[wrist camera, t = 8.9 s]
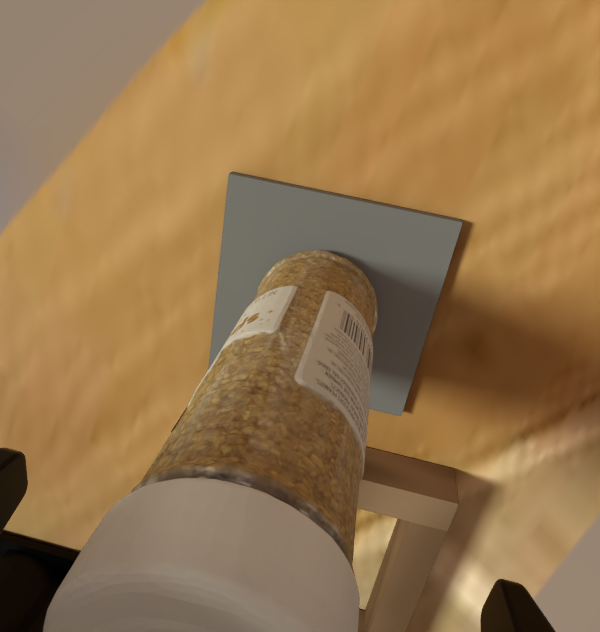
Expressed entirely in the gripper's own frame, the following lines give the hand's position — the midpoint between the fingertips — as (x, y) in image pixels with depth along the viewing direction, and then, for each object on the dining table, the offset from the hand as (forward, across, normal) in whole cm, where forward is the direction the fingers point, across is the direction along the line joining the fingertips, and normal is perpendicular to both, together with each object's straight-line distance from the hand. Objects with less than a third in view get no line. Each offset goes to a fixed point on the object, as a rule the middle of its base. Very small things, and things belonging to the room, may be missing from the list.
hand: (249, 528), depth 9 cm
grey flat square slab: (+11, 0, 0) cm, 11 cm away
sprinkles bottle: (+11, 0, 0) cm, 11 cm away
